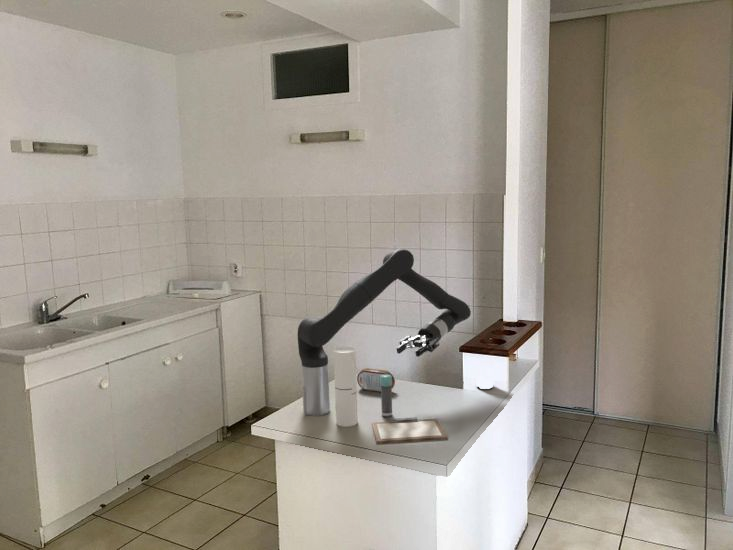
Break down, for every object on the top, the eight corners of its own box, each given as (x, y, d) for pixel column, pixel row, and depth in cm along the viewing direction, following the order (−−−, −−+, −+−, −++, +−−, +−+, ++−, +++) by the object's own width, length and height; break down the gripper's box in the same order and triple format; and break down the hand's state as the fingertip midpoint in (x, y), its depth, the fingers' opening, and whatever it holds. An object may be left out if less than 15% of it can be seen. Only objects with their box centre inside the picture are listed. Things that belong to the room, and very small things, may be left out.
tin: (395, 391, 233) (394, 370, 232) (392, 394, 230) (391, 372, 229) (359, 387, 239) (359, 366, 238) (356, 390, 236) (355, 369, 235)
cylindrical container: (333, 420, 205) (330, 348, 202) (352, 417, 208) (350, 346, 205) (340, 428, 199) (338, 354, 195) (360, 424, 202) (358, 351, 198)
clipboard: (376, 443, 186) (376, 438, 186) (371, 425, 201) (371, 419, 200) (447, 439, 188) (447, 433, 187) (437, 420, 202) (437, 415, 202)
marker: (382, 418, 206) (381, 378, 205) (380, 413, 210) (379, 374, 208) (393, 417, 207) (392, 377, 205) (391, 413, 211) (390, 374, 209)
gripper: (415, 321, 227) (389, 341, 216) (447, 325, 218) (420, 345, 207) (420, 339, 229) (393, 359, 219) (451, 343, 220) (425, 365, 209)
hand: (407, 352), depth 213 cm, fingers open, 8 cm apart
